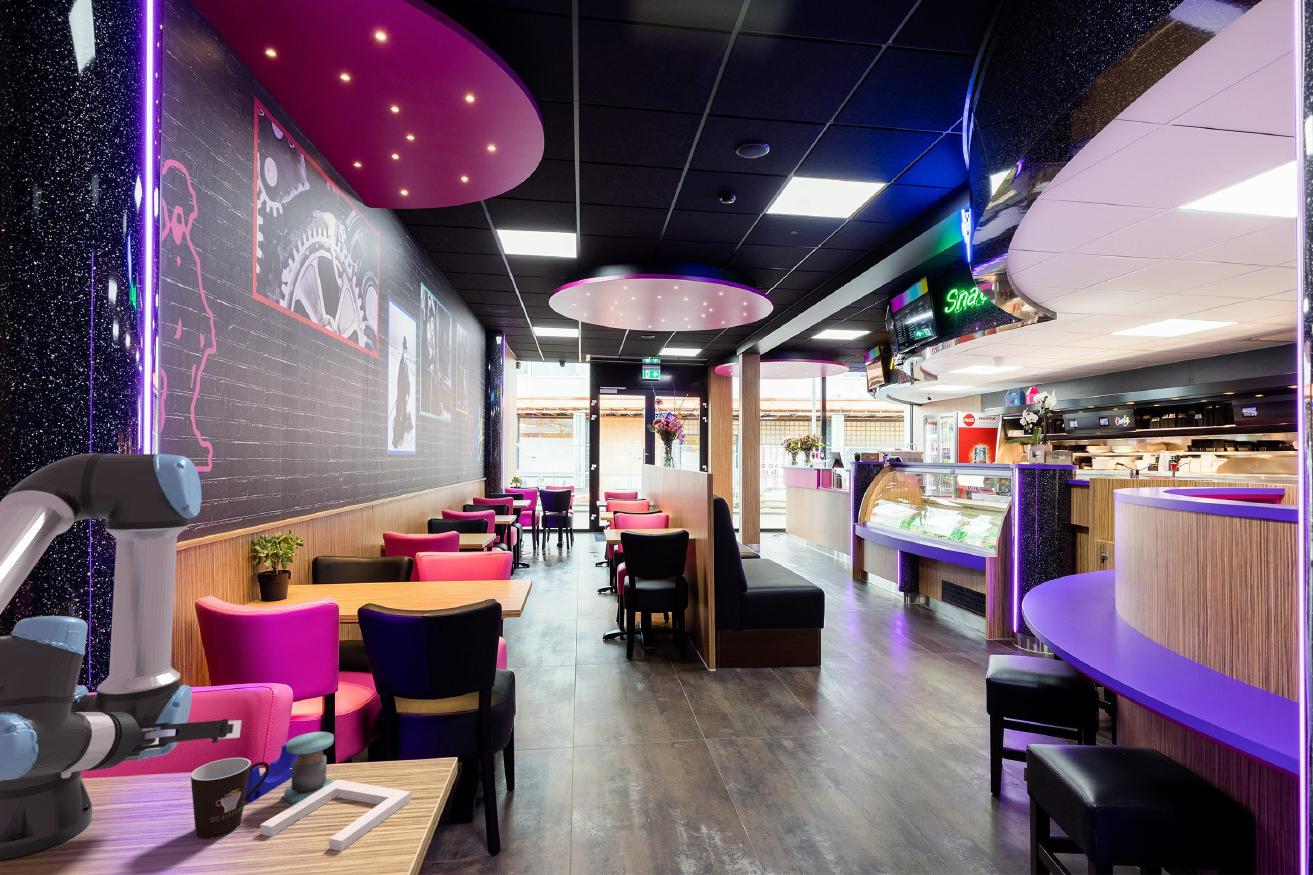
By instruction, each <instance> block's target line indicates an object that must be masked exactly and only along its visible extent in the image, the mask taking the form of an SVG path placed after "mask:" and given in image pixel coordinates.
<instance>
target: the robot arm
mask: <svg viewBox="0 0 1313 875" xmlns="http://www.w3.org/2000/svg"><path fill="white" fill-rule="evenodd" d="M201 486H202V485H201V480H200V476H199V473H198V470H197V468H196V466H195V464H194V463H193V461H192V460H191V459H189V457H186V456H184V455H176V454H166V453H165V454H164V453H152V454H151V453H100V452H99V453H97V452H94V453H93V452H92V453H91V452H88V453H81V454H76V455H72V456H68V457H64V458H62V459H59V460H56V461H54V462H51V463H50V464H48V465H46V466H44V467H43V466H42V468H39V469H38V470H37V471H34V472H33V473H31V474H30V475H28V476H26V477H25V478H24V479H22V480H20V481H19V482H18V483H17V484H16V485H14V486H13V487H12V488H11V489H10V490H9V491H8V493H6V495H5V496H4V497H3V498H2V499H1V500H0V615H2V612H3V611H4V610H5V609H6V607H7V606H8V604H9V603H10V602H11V600H12V599H13V597H14V595H15V594H16V593H17V591H18V590H19V588H20V587H21V586H22V584H23V583H24V582H25V580H26V579H27V577H28V576H29V574H30V573H31V571H32V570H33V569H34V567H35V566H36V565H37V563H38V561H39V560H40V558H41V557H42V556H43V554H44V553H45V552H46V550H47V549H48V547H49V546H50V545H51V543H52V541H54V539H55V537H56V536H58V535H61V534H63V533H65V532H67V531H68V530H69V529H71V527H72V526H73V525H74V523H75V522H77V521H83V520H90V519H91V520H106V521H105V531H106V532H108V533H109V534H110V535H112V536H113V537H114V538H115V539H116V546H115V559H114V560H115V563H114V565H115V566H114V577H113V578H114V580H113V597H112V598H113V599H112V617H111V618H112V619H111V636H110V637H111V638H110V657H109V674H108V676H107V677H106V679H105V680H103V681H102V682H101V683H100V684H98V685H97V687H96V688H97V689H96V694H88V693H89V690H88V688H87V686H85V685H84V684H81V685H79V684H78V681H79V677H80V674H81V669H82V664H83V661H84V660H83V659H84V656H85V654H86V643H87V637H88V636H87V635H88V629H89V628H88V627H89V626H88V623H87V622H86V621H85V620H84V619H81V618H78V617H74V616H65V615H64V616H63V615H48V616H47V615H46V616H45V615H43V616H35V617H28V618H27V617H26V618H23V619H20V620H19V621H17V622H16V623H15V625H14V627H13V630H12V631H11V632H10V635H2V636H1V635H0V861H3V860H9V859H15V858H18V857H22V856H26V855H29V854H33V853H36V852H39V851H43V850H45V849H48V848H51V847H53V846H56V845H59V844H60V843H63V842H65V841H68V840H70V839H72V838H73V837H75V836H76V835H78V834H80V833H81V832H83V831H84V830H85V829H86V828H87V827H89V825H91V822H92V820H93V804H92V801H91V799H90V796H89V794H88V791H87V789H86V786H85V783H84V780H83V778H82V772H89V771H97V770H106V769H107V770H108V769H111V768H113V767H116V766H117V765H120V764H121V763H123V762H131V761H133V762H134V761H139V762H141V761H143V760H146V759H150V758H157V757H162V756H165V755H167V754H169V753H171V752H172V751H173V750H174V749H175V748H176V747H177V745H178V743H182V742H192V741H200V740H208V741H212V742H211V744H217V743H218V742H219V740H227V739H237V738H240V735H241V728H242V722H243V721H242V720H240V719H239V720H237V719H236V720H229V718H228V719H227V718H224V719H221V720H209V721H195V722H188V719H189V716H190V712H191V707H192V702H193V701H192V700H193V690H192V687H191V686H190V685H186V684H182V685H181V673H180V672H178V671H177V670H176V669H174V668H173V667H172V666H171V664H172V663H171V662H172V645H173V644H172V643H173V629H174V628H173V626H174V625H173V624H174V623H173V621H174V608H175V607H174V603H175V589H176V588H175V586H176V585H175V584H176V582H175V581H176V567H177V566H176V564H177V563H176V562H177V545H178V536H179V535H180V534H181V533H182V532H184V531H185V530H186V529H187V528H188V525H189V519H190V520H191V518H195V517H197V516H198V514H200V511H201V504H202V487H201Z"/></svg>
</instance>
